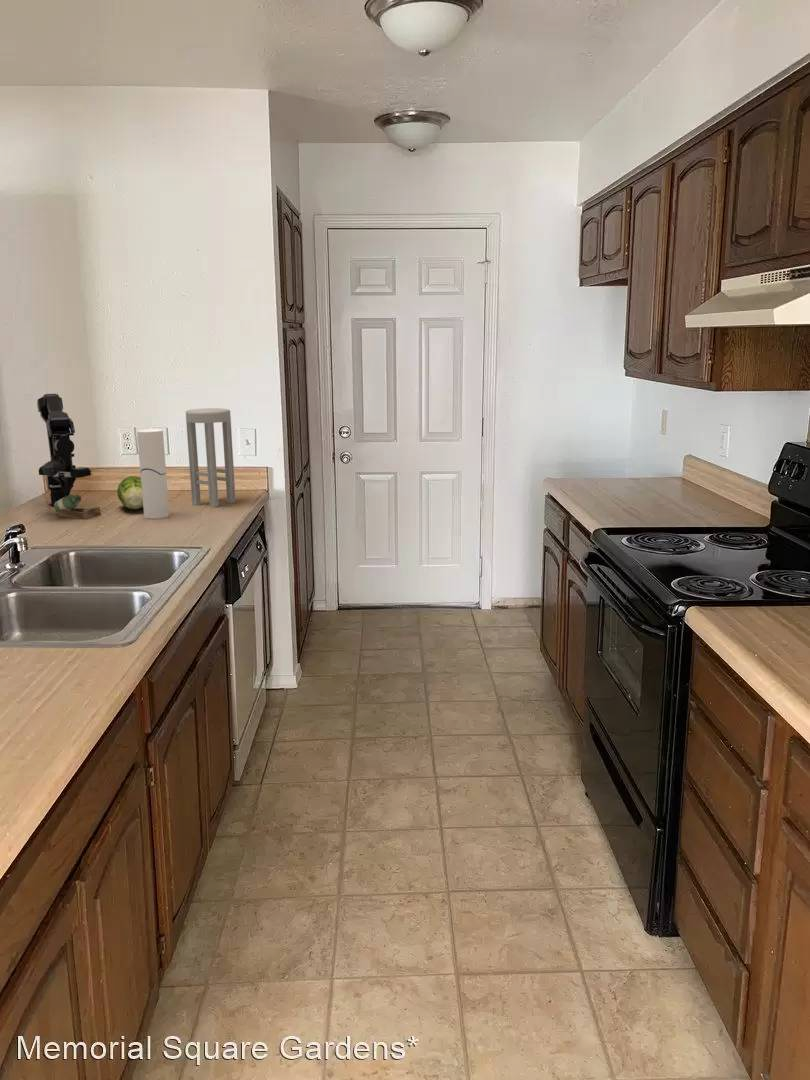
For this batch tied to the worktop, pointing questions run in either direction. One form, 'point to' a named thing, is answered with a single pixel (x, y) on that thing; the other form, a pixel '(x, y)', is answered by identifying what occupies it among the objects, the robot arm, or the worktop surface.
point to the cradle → (81, 513)
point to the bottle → (67, 503)
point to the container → (153, 473)
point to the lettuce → (131, 492)
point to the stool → (210, 454)
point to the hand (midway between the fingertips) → (67, 495)
